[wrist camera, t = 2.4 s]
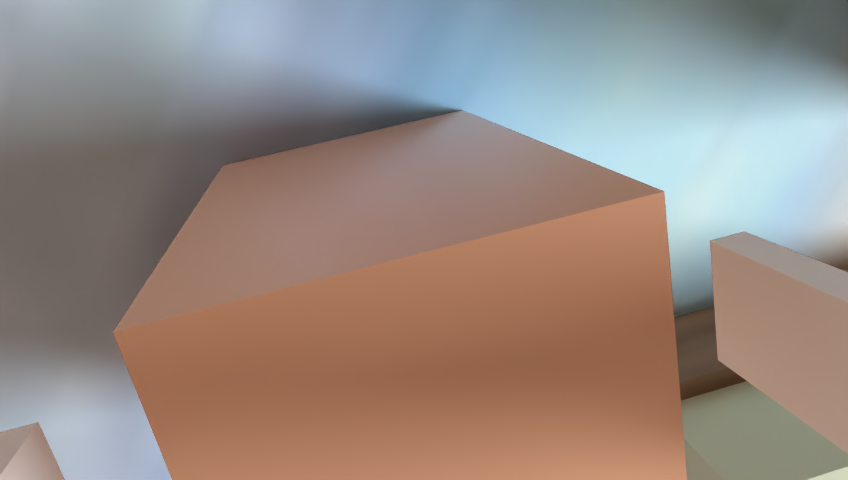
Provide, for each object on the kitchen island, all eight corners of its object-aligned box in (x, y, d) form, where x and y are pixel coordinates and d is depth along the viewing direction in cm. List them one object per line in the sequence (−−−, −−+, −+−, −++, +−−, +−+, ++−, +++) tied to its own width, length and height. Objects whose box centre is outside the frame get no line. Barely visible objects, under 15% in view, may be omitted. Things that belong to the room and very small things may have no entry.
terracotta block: (222, 165, 18) (112, 332, 7) (461, 110, 19) (664, 191, 8) (289, 379, 20) (275, 735, 10) (500, 322, 21) (696, 596, 10)
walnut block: (567, 338, 22) (622, 399, 18) (920, 238, 24) (1037, 275, 20) (610, 629, 27) (661, 726, 23) (904, 530, 28) (997, 605, 24)
